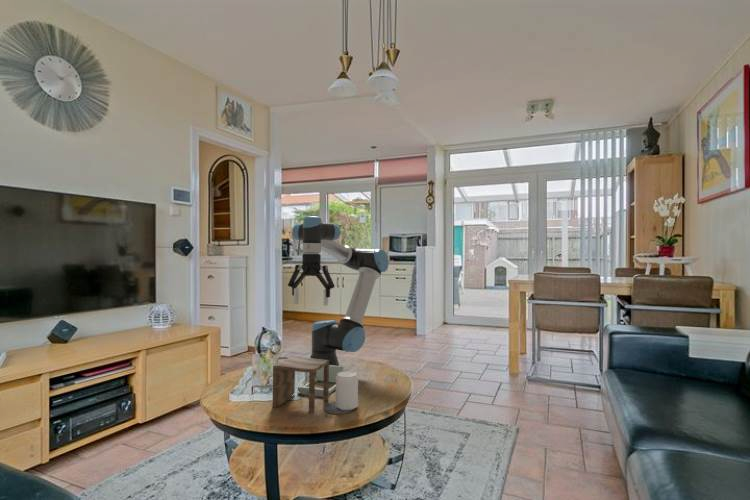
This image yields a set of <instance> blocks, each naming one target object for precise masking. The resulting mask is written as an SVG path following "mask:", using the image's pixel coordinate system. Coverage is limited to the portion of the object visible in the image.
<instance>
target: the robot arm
mask: <svg viewBox="0 0 750 500" xmlns="http://www.w3.org/2000/svg"><path fill="white" fill-rule="evenodd" d="M291 233H292V237H293V239H294V240H297V241H302V253H303V254H302V257H301V258H302V259H301V260H302V265H301V264H295V267H294V271H293V272H292V275H291V277H290V279H289V281H288V283H287V287H290V288H291V295H292V296H293V304H294V305H297V304H299V287H298V286H299V285H300V284H301V282H302V281H303V280H304V279H305V278H306V277H316V278H317V279H318V280H319V282H320V283H321V285H322V286H323V288H324V289H323V306H324V307H326V306H329V298H330V297H331V289H334V288H335V284H334V280H333V279H332V277H331V274H330V272H329V267H328V264H327V265H321V254H320V253H321V251H322V252H323V253H326V254H328V255H329V256H331V257H332V258H334V259H336V260H337V262H338V263H340V264H341V265H343V266H345V267H347V268H349V269H352V270H354V271H358V273H359V275H358V277H357V278H358V279H357V280H356V283H355V286H354V289H353V292H352V295H351V298H350V301H349V304H348V307H347V310H346V312H345V315H344V317H342V318H340V321H339V322H338V323H337V320H334V319H332V320H331V319H329V320H320V321H315V322H313V324H312V327H311V328H312V329H311V353H310V354H311V355H310V357H309V358H313V359H323V360H329V365H334V366H340V362H339V359H338V355H337V351H336V350H338V351H341V352H346V353H355V352H358V351H359V350H361V348H362V347H363V345H364V343H365V340H366V331H365V330H364V324H363V320H364V318H365V313H366V311H367V308H368V305H369V302H370V299H371V295H372V293H373V289H374V286H375V284H376V280H377V279H380V277H381V275H382V273H385V272H387V270H388V269H389V264H390V263H389V257H388V254H387V252H386V251H385V250H384V249H382V248H354V247H350V246H349V245H344V244H342V243H340V242H338V241H337V240H338V239H339V237H340V234H341V229H340V227H339V225H338V224H335V223H332V222H331V223H329V222H322V218H321V217H320V216H315V215H313V216H311V215H309V216H304V217H303V223H297V224H295V225H294V226H293V227H292V231H291ZM300 271H302V272H301V273H300ZM321 271H322V272H323V274H322V273H321ZM299 274H300V275H299ZM323 275H324V276H323ZM324 277H325V278H324Z"/></svg>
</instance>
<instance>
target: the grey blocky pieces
mask: <svg viewBox="0 0 750 500" xmlns="http://www.w3.org/2000/svg"><path fill="white" fill-rule="evenodd" d="M343 371H344V366H342V365H339V366H334V365H329V383H335V384H333V386H331V387H330V388H329V395H331V394H332V392H333V391H336V376H337V374H338V373H339V372H343ZM318 381H319V382H320V381H321V382H324V367H322V368H321V369H319V370H318V371H316V372H315V383H317V382H318ZM298 391H299V392H300V393H299V394H301V395H302V394H303V395H309V382H307V383H306V384H304V385H303V386H301V385H299V386H297V392H298ZM315 396H317V397H318V396H319V397H323V388H317V387H315Z"/></svg>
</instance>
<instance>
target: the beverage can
mask: <svg viewBox="0 0 750 500" xmlns="http://www.w3.org/2000/svg"><path fill="white" fill-rule="evenodd" d="M335 384H336V389H335V402H336V407H337V408H339V409H341V410H352V409H353V410H354V409H356V408H358V406H359V376H358V375H357V372H355V371H350V370H349V371H347V370H346V371H344V370H343V372H339V373H338V374H337V376H336V383H335Z"/></svg>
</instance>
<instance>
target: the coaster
mask: <svg viewBox="0 0 750 500" xmlns="http://www.w3.org/2000/svg"><path fill="white" fill-rule="evenodd" d="M353 411H354V409H352V410H341V409H339V408H337V407H336V401H331V402H328V403H326V404H324V405H323V412H325V413H327V414H331V415H347V414H349V413H352V412H353Z"/></svg>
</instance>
